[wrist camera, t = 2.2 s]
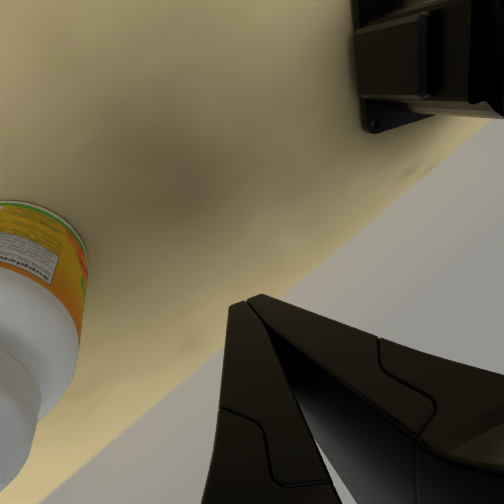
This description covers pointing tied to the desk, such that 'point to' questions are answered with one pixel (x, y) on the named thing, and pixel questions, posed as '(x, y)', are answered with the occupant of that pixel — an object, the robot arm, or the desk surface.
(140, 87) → the desk surface
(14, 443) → the supplement bottle
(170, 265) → the desk surface
